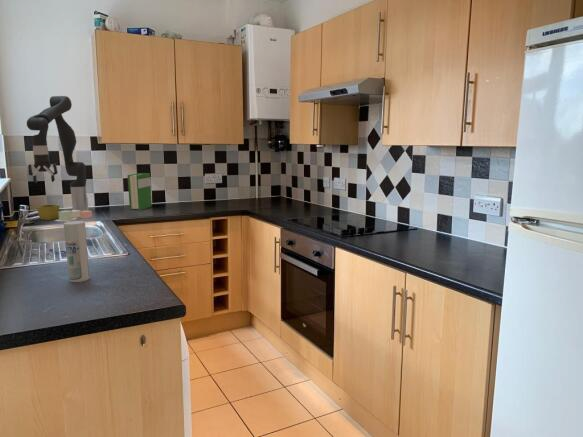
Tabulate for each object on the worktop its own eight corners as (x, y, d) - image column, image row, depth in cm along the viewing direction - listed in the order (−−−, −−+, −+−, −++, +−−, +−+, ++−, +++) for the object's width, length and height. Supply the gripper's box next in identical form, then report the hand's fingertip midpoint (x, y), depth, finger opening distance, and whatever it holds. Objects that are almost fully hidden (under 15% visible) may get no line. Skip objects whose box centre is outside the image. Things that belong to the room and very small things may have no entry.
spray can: (64, 281, 150) (59, 223, 147) (79, 275, 156) (74, 220, 153) (79, 283, 148) (73, 224, 144) (94, 277, 154) (89, 221, 150)
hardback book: (139, 210, 303) (137, 175, 299) (129, 209, 304) (127, 175, 300) (151, 206, 320) (149, 173, 316) (142, 206, 321) (140, 173, 317)
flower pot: (50, 222, 258) (49, 207, 257) (37, 221, 260) (36, 206, 259) (61, 219, 267) (59, 205, 265) (48, 219, 269) (47, 204, 267)
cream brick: (73, 218, 273) (73, 210, 272) (81, 218, 273) (80, 210, 272) (68, 219, 268) (68, 211, 268) (76, 219, 268) (75, 211, 267)
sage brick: (64, 218, 264) (63, 210, 263) (72, 218, 264) (71, 210, 263) (59, 220, 259) (58, 211, 259) (67, 220, 259) (66, 211, 258)
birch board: (63, 219, 267) (63, 217, 267) (78, 219, 266) (78, 218, 266) (52, 222, 257) (52, 220, 257) (68, 222, 256) (68, 221, 256)
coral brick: (84, 218, 271) (84, 210, 270) (92, 218, 271) (91, 210, 270) (80, 219, 266) (79, 211, 266) (87, 220, 266) (87, 211, 265)
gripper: (56, 153, 256) (59, 181, 259) (28, 153, 251) (31, 182, 254) (54, 153, 249) (57, 182, 252) (25, 154, 244) (28, 183, 247)
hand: (44, 182), depth 253 cm, fingers open, 8 cm apart
